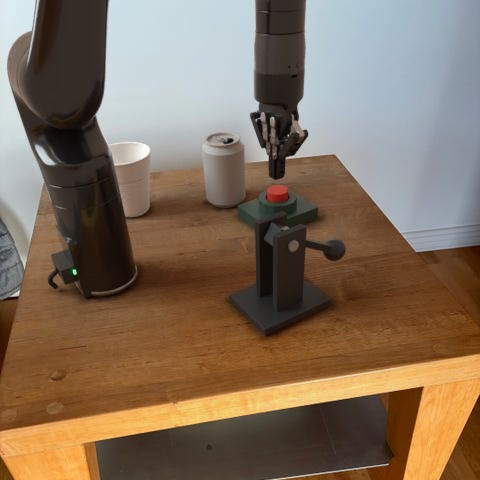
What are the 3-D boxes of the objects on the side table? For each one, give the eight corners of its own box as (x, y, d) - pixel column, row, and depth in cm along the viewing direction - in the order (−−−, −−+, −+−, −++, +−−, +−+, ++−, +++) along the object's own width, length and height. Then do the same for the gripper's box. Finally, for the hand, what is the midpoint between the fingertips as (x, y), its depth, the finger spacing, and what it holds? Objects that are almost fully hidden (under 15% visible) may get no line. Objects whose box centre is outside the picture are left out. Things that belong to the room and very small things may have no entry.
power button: (275, 206, 85) (275, 196, 84) (263, 198, 87) (263, 188, 86) (292, 200, 86) (292, 190, 85) (279, 192, 88) (280, 183, 87)
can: (241, 211, 91) (239, 146, 83) (202, 208, 92) (195, 144, 85) (249, 192, 97) (247, 130, 89) (211, 190, 98) (207, 128, 90)
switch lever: (328, 256, 73) (338, 236, 72) (343, 266, 71) (354, 246, 70) (260, 240, 64) (270, 217, 63) (274, 251, 62) (285, 228, 61)
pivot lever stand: (291, 275, 76) (294, 197, 67) (330, 306, 70) (338, 225, 61) (229, 301, 71) (223, 222, 63) (264, 336, 65) (264, 254, 57)
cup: (161, 220, 90) (151, 161, 83) (105, 226, 89) (90, 167, 82) (159, 195, 97) (150, 139, 90) (107, 200, 96) (94, 144, 89)
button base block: (266, 237, 84) (266, 216, 81) (237, 216, 90) (236, 195, 87) (317, 218, 88) (319, 197, 85) (287, 199, 94) (287, 179, 91)
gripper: (233, 60, 75) (236, 169, 87) (285, 79, 67) (281, 198, 78) (274, 52, 78) (272, 159, 90) (328, 70, 70) (319, 186, 81)
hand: (276, 177), depth 84 cm, fingers closed
